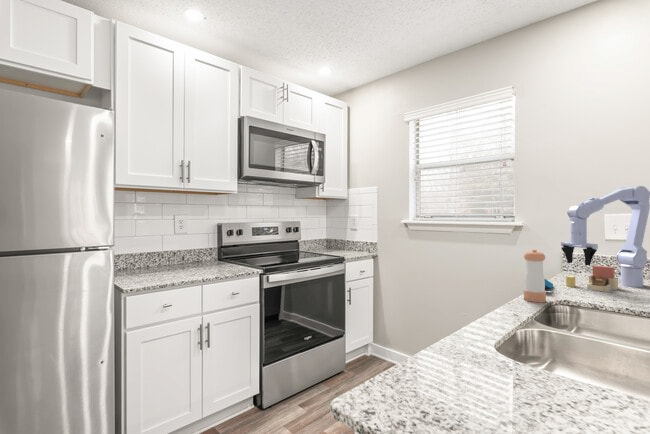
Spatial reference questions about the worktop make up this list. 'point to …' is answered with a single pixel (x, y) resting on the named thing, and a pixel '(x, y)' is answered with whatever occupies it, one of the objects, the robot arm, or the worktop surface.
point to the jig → (608, 288)
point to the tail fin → (570, 281)
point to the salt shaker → (534, 277)
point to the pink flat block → (604, 272)
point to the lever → (548, 284)
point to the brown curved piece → (599, 281)
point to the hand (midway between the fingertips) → (578, 264)
